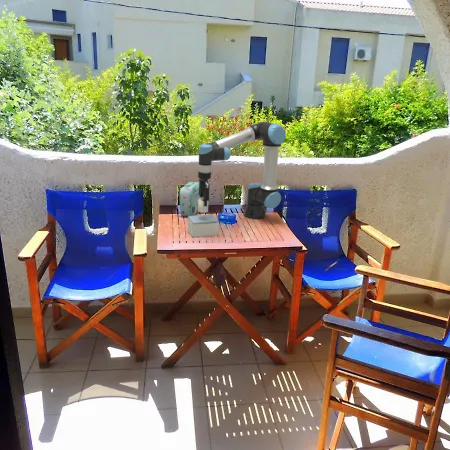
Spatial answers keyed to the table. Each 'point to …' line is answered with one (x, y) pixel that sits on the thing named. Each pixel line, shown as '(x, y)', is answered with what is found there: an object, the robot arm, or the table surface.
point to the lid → (203, 219)
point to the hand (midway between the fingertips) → (203, 209)
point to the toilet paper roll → (201, 206)
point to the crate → (203, 229)
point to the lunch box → (189, 199)
